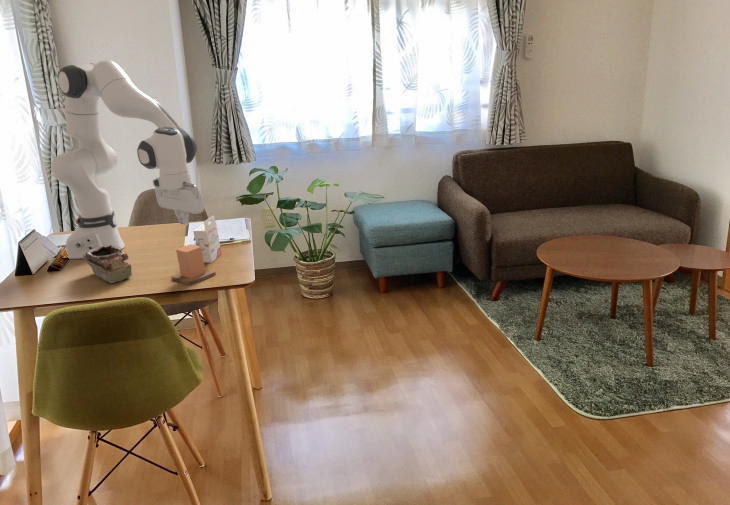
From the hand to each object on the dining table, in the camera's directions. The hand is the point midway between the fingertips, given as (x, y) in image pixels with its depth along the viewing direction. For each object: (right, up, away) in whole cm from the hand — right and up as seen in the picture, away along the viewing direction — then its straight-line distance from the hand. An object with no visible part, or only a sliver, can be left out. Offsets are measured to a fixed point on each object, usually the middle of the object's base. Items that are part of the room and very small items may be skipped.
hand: (184, 223), depth 198 cm
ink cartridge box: (+3, -11, +22) cm, 25 cm away
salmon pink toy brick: (+1, -16, +6) cm, 17 cm away
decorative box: (-30, -18, +13) cm, 37 cm away
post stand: (+1, -17, +6) cm, 18 cm away
